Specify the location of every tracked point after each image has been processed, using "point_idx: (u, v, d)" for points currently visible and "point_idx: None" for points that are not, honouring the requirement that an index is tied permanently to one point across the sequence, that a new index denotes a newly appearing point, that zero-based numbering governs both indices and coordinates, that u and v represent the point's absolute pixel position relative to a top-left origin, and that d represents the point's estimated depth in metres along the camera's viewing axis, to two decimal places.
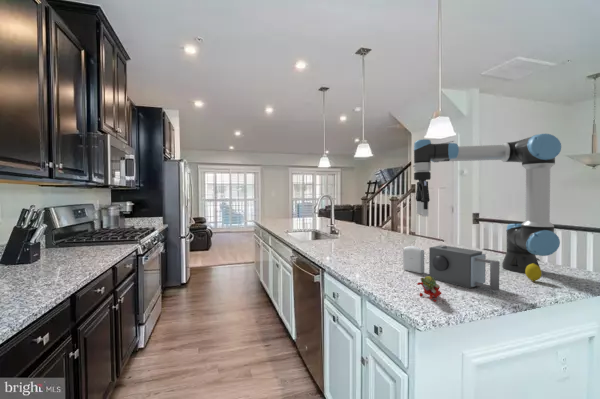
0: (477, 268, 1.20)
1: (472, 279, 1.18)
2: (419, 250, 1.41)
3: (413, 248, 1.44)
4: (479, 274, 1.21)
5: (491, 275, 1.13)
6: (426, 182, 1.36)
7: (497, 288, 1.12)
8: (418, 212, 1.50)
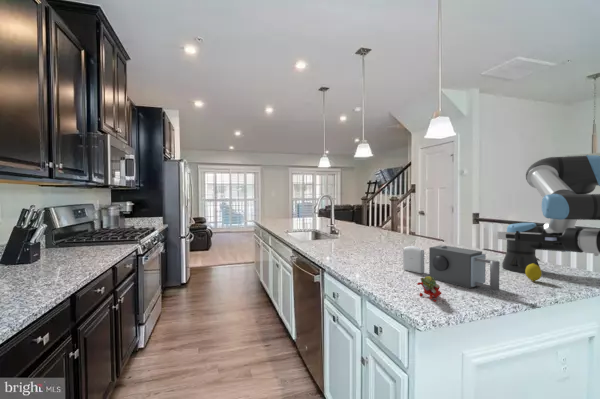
0: (477, 268, 1.20)
1: (472, 279, 1.18)
2: (419, 250, 1.41)
3: (413, 248, 1.44)
4: (479, 274, 1.21)
5: (491, 275, 1.13)
6: None
7: (497, 288, 1.12)
8: None
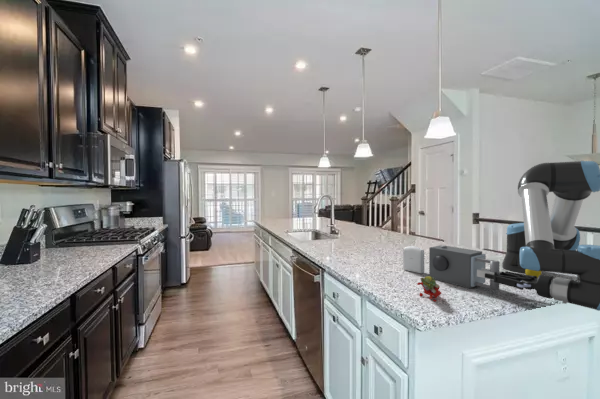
0: (477, 268, 1.20)
1: (472, 279, 1.18)
2: (419, 250, 1.41)
3: (413, 248, 1.44)
4: None
5: None
6: None
7: (497, 288, 1.12)
8: None
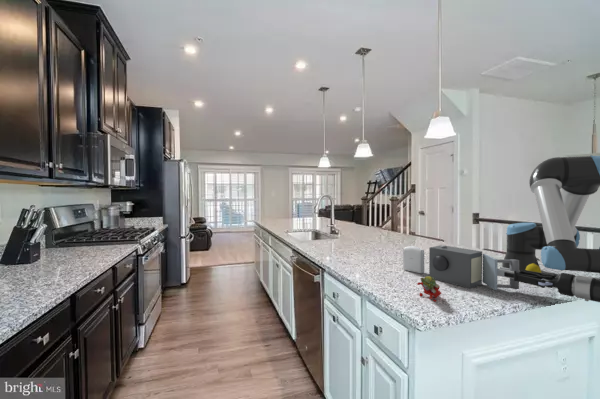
0: None
1: (496, 282, 1.14)
2: (419, 250, 1.41)
3: (413, 248, 1.44)
4: None
5: None
6: None
7: (518, 286, 1.14)
8: None
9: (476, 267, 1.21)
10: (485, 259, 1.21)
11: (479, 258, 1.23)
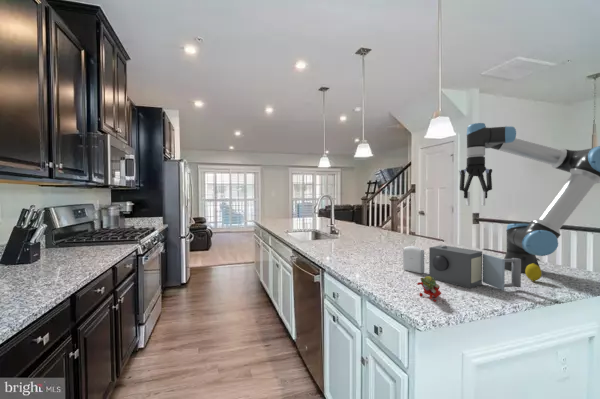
0: None
1: (503, 282, 1.14)
2: (419, 250, 1.41)
3: (413, 248, 1.44)
4: None
5: (518, 273, 1.15)
6: (460, 171, 1.40)
7: None
8: (481, 203, 1.39)
9: (476, 267, 1.21)
10: (487, 259, 1.21)
11: (479, 258, 1.23)
